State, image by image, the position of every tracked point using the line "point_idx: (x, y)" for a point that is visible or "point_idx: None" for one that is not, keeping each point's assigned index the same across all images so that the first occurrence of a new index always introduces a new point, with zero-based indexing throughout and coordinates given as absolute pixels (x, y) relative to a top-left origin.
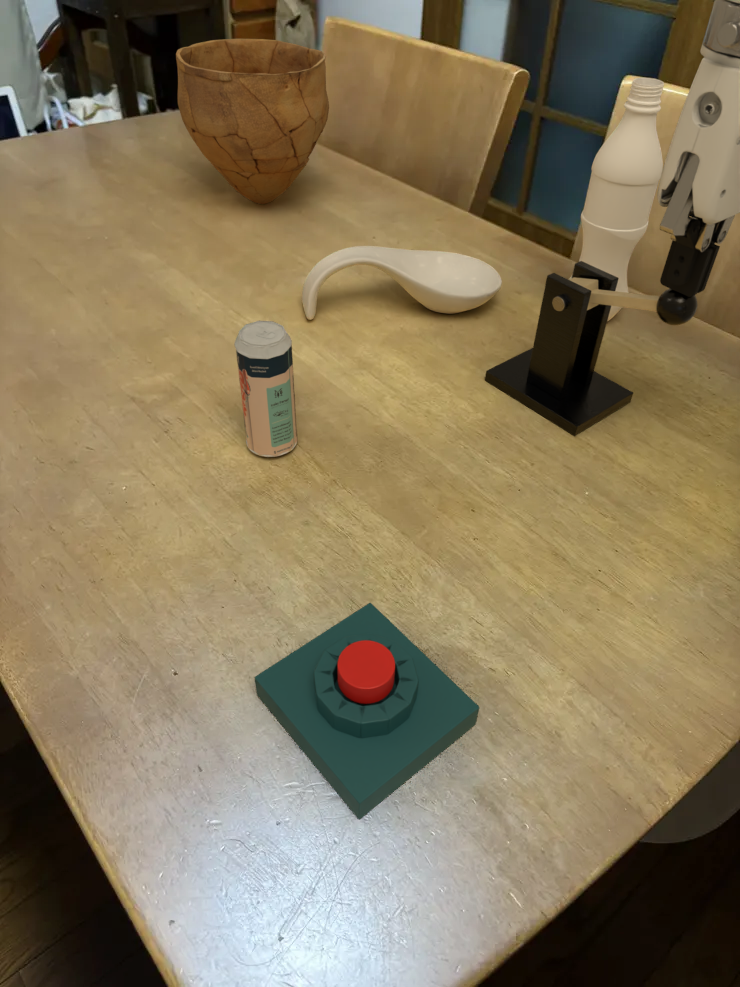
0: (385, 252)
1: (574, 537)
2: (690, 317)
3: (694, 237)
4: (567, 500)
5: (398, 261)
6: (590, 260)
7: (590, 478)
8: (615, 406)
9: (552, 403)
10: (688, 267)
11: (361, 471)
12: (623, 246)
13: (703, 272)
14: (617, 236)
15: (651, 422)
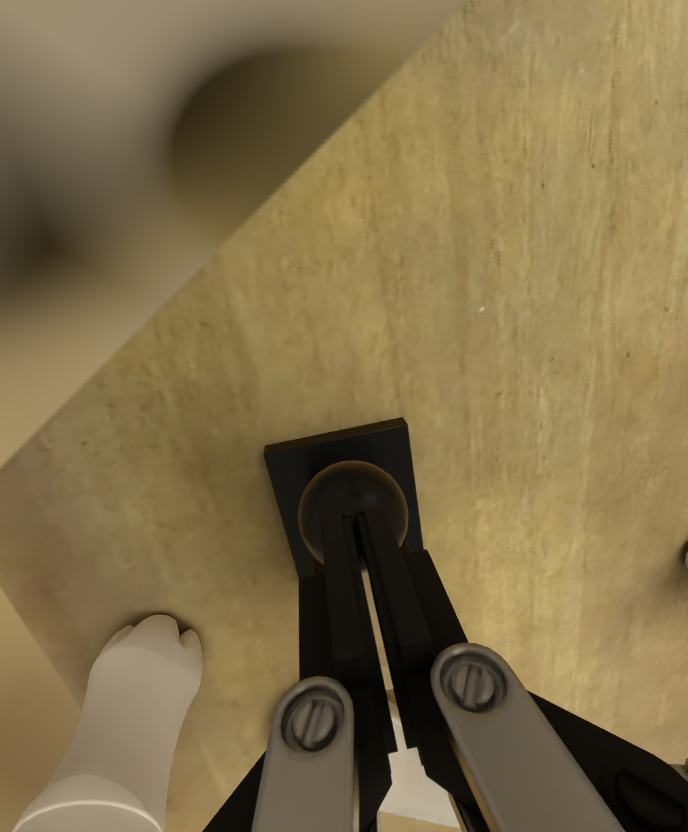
0: (433, 811)
1: (567, 242)
2: (349, 463)
3: (572, 734)
4: (515, 310)
5: (409, 791)
6: (172, 738)
7: (452, 332)
8: (309, 441)
9: (399, 481)
10: (446, 598)
11: (671, 472)
12: (115, 760)
13: (390, 561)
14: (127, 789)
15: (270, 393)
